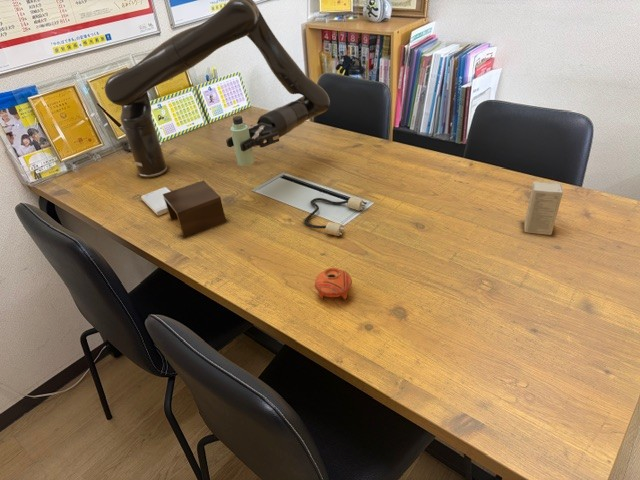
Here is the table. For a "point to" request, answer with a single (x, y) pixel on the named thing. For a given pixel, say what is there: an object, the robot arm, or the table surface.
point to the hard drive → (156, 200)
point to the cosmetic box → (543, 207)
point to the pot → (333, 283)
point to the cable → (333, 227)
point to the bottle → (239, 136)
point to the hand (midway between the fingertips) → (234, 145)
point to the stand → (195, 207)
